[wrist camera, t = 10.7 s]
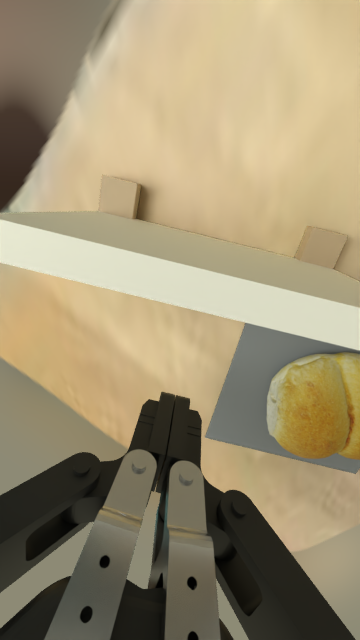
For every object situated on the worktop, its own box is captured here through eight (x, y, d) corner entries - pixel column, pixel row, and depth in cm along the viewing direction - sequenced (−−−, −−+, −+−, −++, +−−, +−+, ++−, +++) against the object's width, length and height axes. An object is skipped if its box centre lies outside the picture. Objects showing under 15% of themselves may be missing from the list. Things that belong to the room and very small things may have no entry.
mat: (261, 277, 17) (262, 277, 17) (458, 325, 17) (460, 326, 17) (205, 436, 23) (205, 437, 22) (354, 472, 23) (355, 473, 23)
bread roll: (378, 440, 21) (415, 489, 17) (261, 435, 22) (272, 481, 18) (409, 346, 18) (461, 382, 14) (270, 344, 19) (287, 378, 15)
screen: (108, 176, 16) (-31, 130, 6) (340, 234, 16) (528, 269, 7) (98, 260, 18) (-17, 317, 8) (305, 311, 18) (414, 421, 9)
